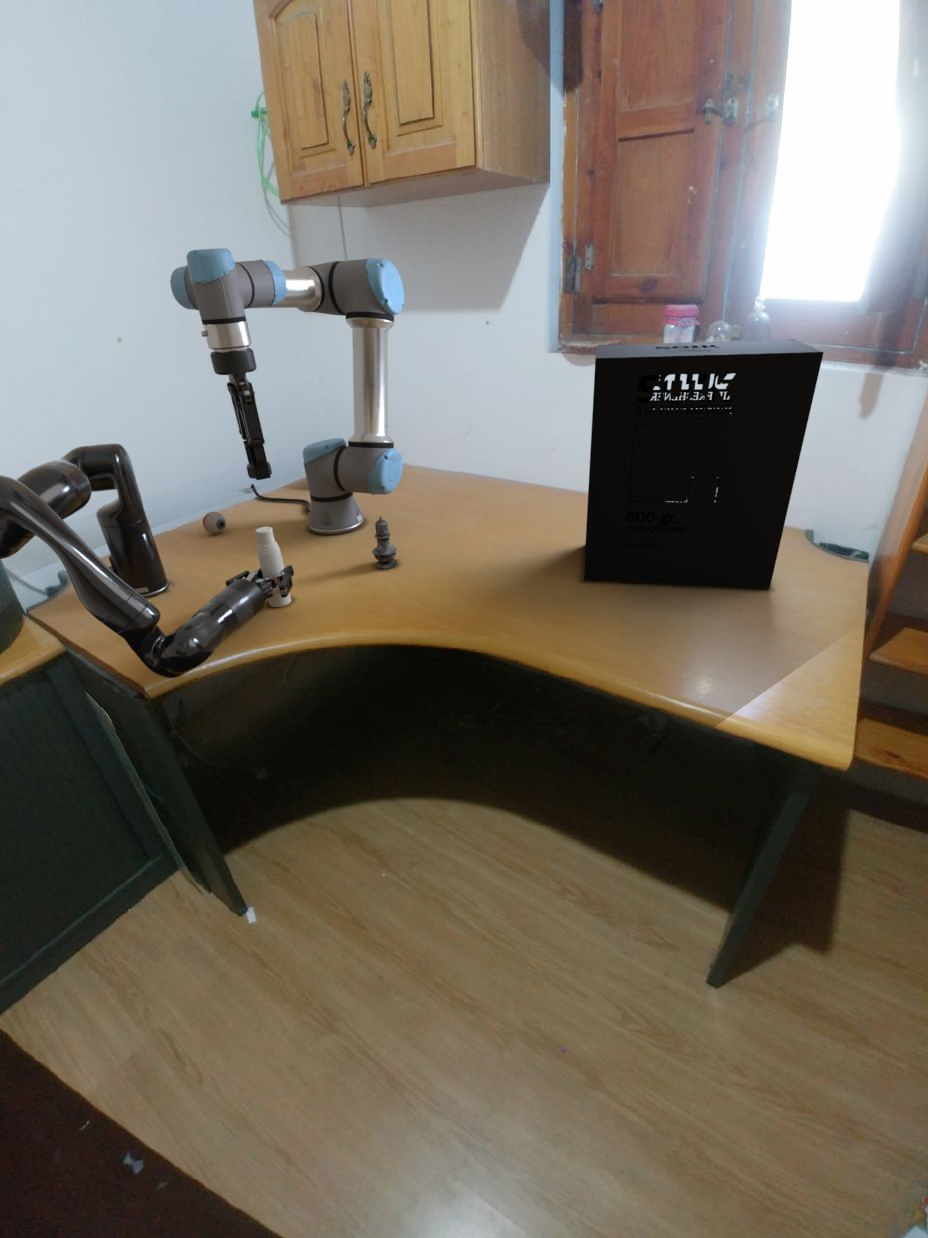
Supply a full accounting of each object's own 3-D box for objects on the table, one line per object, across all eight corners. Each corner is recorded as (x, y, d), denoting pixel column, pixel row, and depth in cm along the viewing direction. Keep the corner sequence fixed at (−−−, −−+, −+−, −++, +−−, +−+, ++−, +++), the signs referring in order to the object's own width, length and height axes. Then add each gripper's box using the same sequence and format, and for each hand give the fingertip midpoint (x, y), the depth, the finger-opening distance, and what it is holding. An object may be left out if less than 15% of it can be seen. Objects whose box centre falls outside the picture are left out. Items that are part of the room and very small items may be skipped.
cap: (274, 471, 123) (272, 460, 121) (268, 477, 119) (266, 466, 118) (252, 472, 123) (249, 461, 122) (245, 479, 119) (243, 468, 118)
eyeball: (216, 538, 165) (210, 517, 162) (201, 534, 168) (195, 514, 165) (233, 531, 169) (228, 510, 166) (219, 527, 172) (213, 507, 169)
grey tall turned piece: (394, 569, 142) (388, 521, 136) (370, 568, 143) (363, 520, 137) (401, 559, 147) (396, 512, 141) (378, 558, 148) (372, 511, 142)
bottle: (295, 600, 131) (279, 528, 122) (277, 609, 128) (260, 535, 119) (282, 595, 133) (266, 523, 125) (265, 603, 130) (247, 530, 122)
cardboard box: (750, 549, 141) (792, 338, 119) (769, 589, 124) (823, 351, 101) (586, 544, 149) (597, 345, 126) (583, 580, 132) (595, 358, 109)
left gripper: (263, 591, 112) (307, 554, 126) (197, 586, 115) (247, 550, 129) (272, 626, 115) (313, 586, 130) (208, 619, 119) (255, 581, 133)
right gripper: (202, 347, 114) (234, 468, 126) (216, 355, 101) (250, 490, 113) (242, 342, 117) (269, 461, 129) (261, 350, 103) (290, 482, 115)
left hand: (280, 568), depth 129 cm, fingers closed on bottle, 4 cm apart
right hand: (260, 475), depth 121 cm, fingers closed on cap, 4 cm apart
